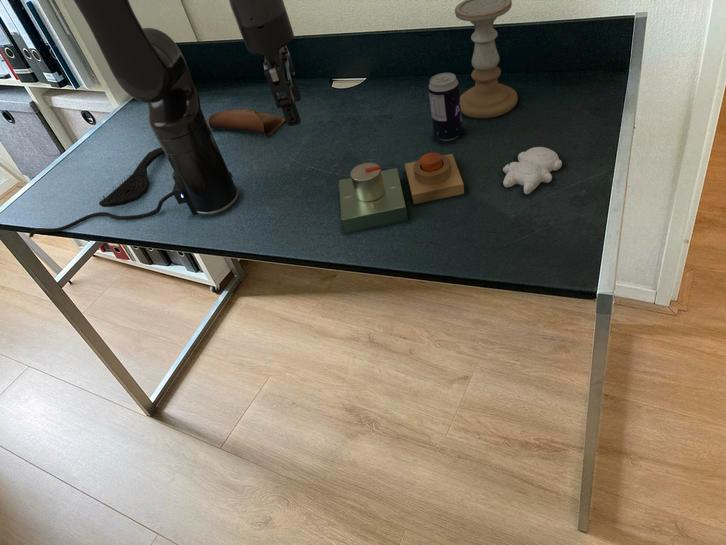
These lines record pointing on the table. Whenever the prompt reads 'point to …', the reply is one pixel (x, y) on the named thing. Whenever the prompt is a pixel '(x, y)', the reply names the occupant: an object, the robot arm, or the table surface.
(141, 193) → the hairbrush
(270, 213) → the table surface
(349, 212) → the control knob panel
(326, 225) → the table surface
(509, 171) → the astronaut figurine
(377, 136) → the table surface
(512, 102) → the candle holder
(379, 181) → the rotary dial knob
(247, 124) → the sunglasses case
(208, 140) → the robot arm
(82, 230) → the table surface
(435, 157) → the button
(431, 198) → the button block
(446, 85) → the beverage can
